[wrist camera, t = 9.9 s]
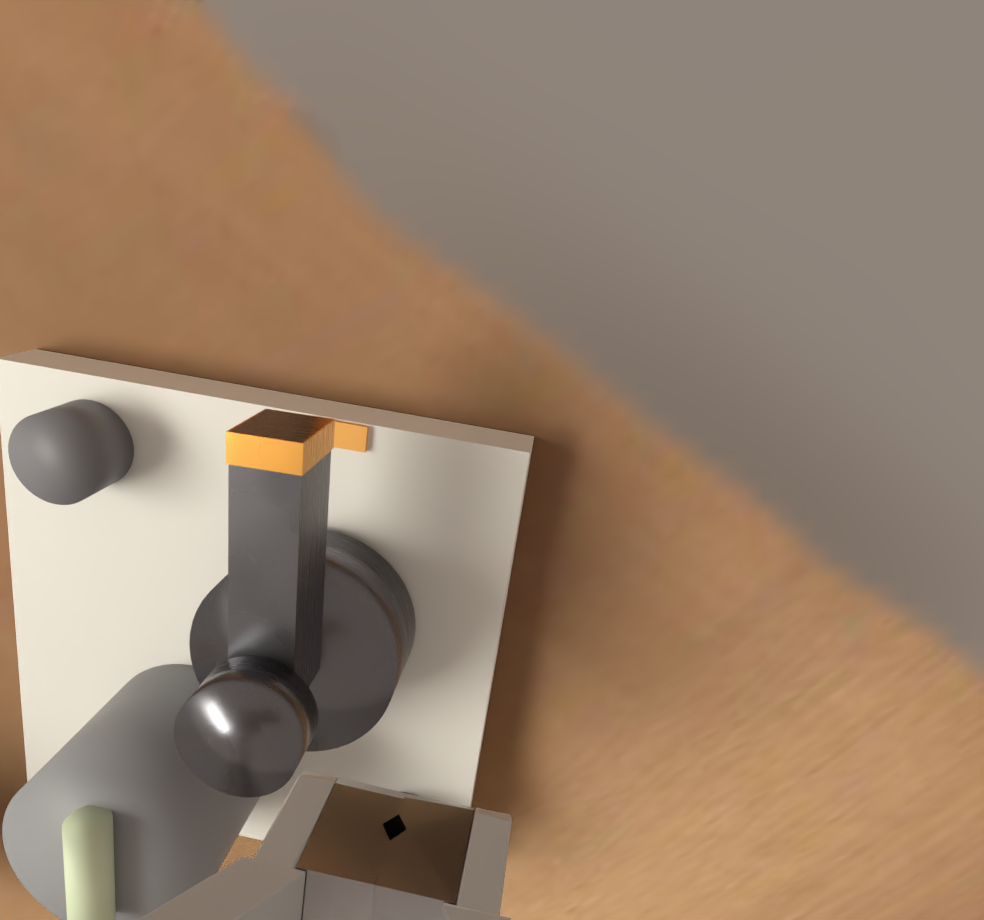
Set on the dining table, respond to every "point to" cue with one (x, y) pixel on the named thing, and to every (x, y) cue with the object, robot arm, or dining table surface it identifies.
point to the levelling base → (180, 590)
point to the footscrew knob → (288, 619)
